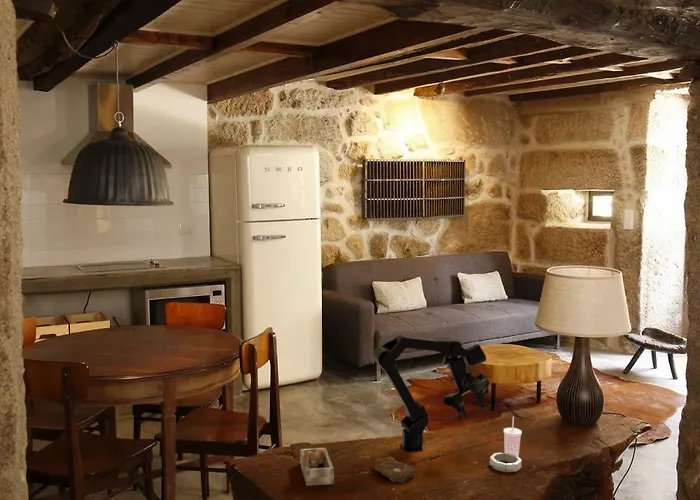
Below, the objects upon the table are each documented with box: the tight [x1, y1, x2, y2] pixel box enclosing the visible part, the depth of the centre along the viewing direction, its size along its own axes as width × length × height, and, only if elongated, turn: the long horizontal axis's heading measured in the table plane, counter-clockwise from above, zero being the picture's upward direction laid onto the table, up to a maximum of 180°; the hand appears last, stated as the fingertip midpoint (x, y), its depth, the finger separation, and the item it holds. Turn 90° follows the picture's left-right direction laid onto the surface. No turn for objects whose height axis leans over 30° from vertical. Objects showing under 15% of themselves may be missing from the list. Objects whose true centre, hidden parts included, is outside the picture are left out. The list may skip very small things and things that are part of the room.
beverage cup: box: [503, 416, 523, 457], centre depth 243 cm, size 6×6×14 cm
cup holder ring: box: [489, 452, 523, 473], centre depth 235 cm, size 10×10×2 cm
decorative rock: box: [373, 456, 417, 484], centre depth 228 cm, size 11×4×15 cm
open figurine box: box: [299, 447, 335, 487], centre depth 226 cm, size 8×16×5 cm, turn 11°
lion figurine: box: [303, 449, 326, 469], centre depth 226 cm, size 15×5×9 cm, turn 161°
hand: (474, 413), depth 249 cm, fingers open, 9 cm apart
